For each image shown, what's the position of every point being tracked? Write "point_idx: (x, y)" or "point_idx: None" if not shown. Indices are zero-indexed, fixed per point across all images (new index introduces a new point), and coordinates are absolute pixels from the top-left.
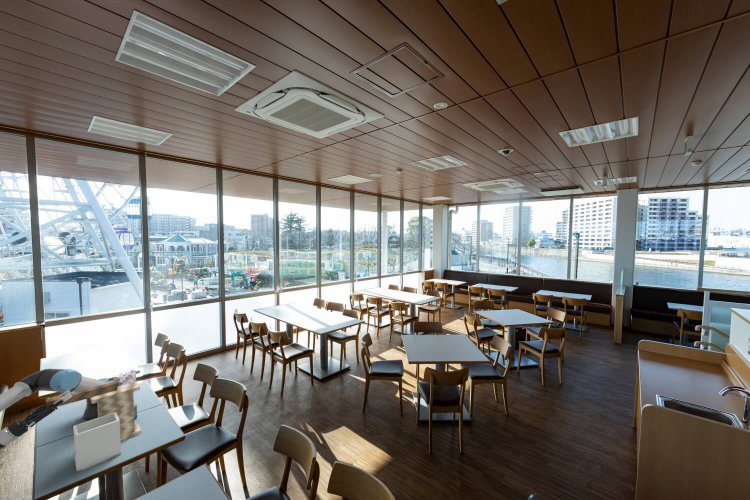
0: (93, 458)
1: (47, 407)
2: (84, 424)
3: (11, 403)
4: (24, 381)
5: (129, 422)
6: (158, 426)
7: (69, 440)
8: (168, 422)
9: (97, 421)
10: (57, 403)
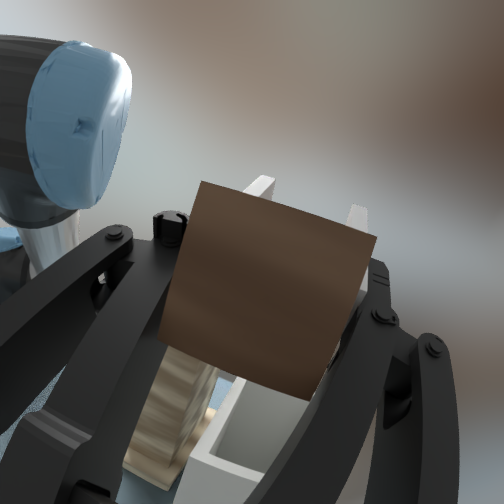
0: None
1: (331, 356)
2: (217, 437)
3: None
4: None
5: (209, 395)
6: (225, 395)
7: (11, 430)
8: (231, 384)
9: (230, 413)
10: (387, 296)
